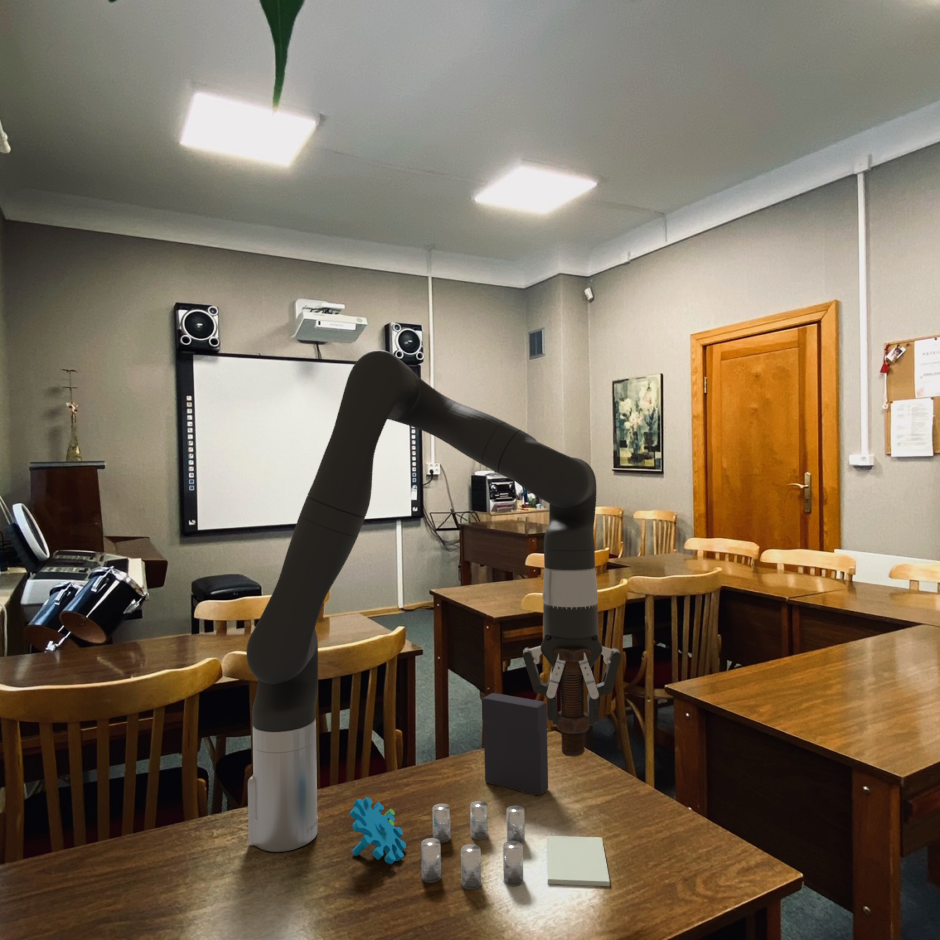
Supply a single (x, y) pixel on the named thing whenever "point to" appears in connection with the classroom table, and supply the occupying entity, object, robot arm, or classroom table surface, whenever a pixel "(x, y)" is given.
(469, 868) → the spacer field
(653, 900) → the classroom table surface
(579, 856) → the plate
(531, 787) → the dark grey slab
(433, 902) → the classroom table surface
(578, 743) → the bolt
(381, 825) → the gear
